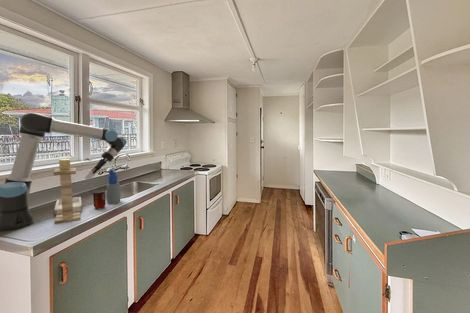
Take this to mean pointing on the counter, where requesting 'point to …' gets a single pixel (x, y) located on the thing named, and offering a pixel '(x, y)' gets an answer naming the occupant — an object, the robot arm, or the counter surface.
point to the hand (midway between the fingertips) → (87, 178)
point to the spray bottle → (113, 188)
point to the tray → (76, 206)
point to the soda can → (99, 199)
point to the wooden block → (64, 164)
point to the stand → (66, 197)
